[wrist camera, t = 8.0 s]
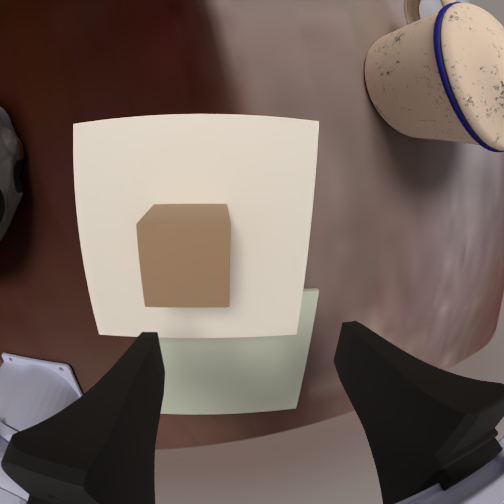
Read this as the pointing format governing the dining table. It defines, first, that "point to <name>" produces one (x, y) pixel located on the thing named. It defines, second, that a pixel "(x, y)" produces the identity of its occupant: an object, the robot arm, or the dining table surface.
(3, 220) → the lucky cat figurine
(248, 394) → the mat
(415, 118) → the teacup with lid
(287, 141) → the cover plate
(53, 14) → the dining table surface
